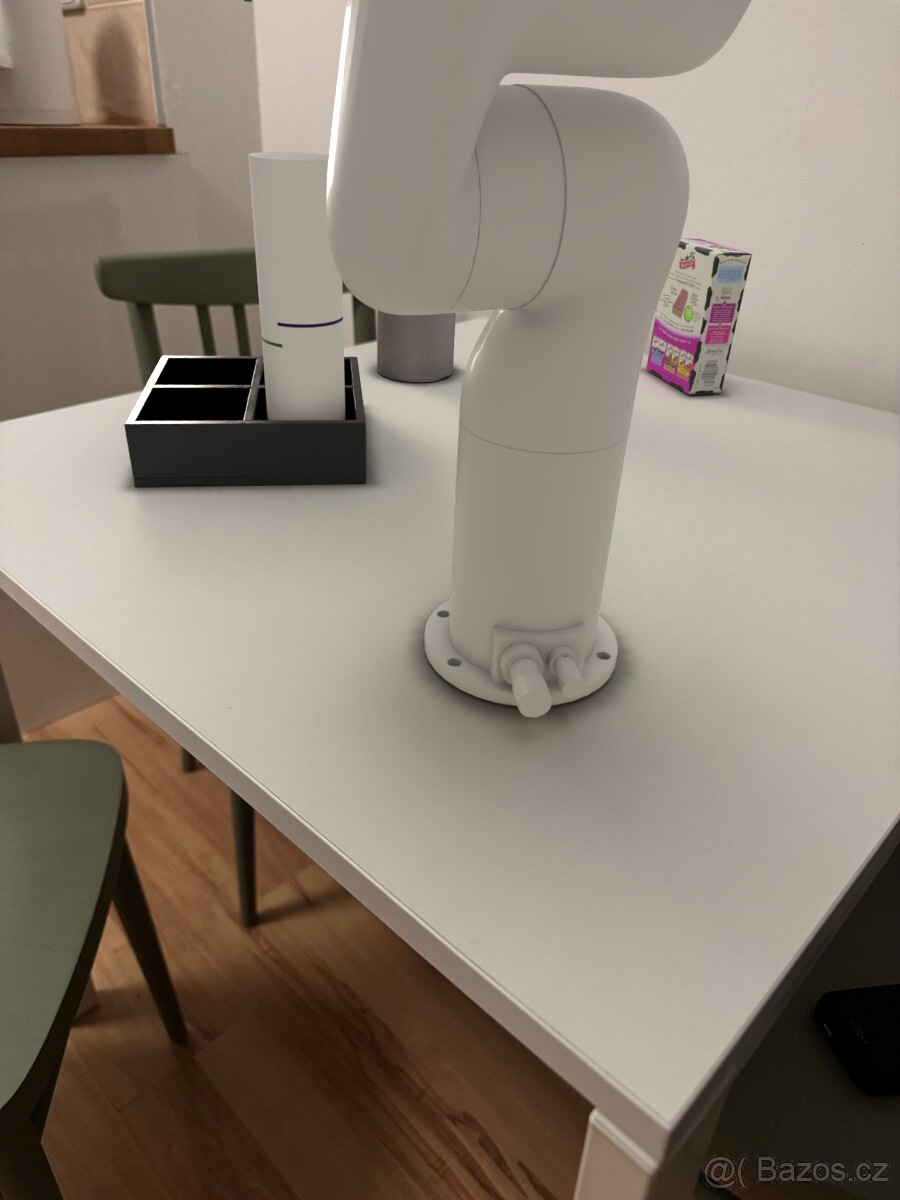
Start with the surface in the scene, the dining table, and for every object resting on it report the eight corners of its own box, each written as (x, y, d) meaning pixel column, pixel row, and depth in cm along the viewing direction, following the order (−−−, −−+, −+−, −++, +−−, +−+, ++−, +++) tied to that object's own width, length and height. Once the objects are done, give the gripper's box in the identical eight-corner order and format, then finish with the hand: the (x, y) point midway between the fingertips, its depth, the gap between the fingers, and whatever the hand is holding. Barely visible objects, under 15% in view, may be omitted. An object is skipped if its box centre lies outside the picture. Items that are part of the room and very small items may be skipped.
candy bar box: (724, 394, 104) (755, 253, 95) (688, 396, 102) (717, 253, 94) (677, 368, 113) (702, 236, 104) (644, 369, 111) (666, 236, 103)
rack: (366, 483, 77) (366, 422, 74) (134, 487, 74) (123, 424, 71) (358, 408, 94) (357, 356, 91) (169, 409, 91) (162, 355, 88)
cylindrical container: (332, 470, 76) (322, 162, 63) (258, 461, 77) (233, 156, 64) (355, 443, 82) (350, 155, 69) (286, 434, 83) (268, 150, 70)
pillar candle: (373, 360, 110) (372, 237, 102) (446, 360, 111) (451, 238, 103) (381, 384, 101) (381, 251, 94) (460, 382, 103) (467, 252, 95)
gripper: (152, -368, 49) (188, -7, 58) (445, -333, 51) (436, 7, 60) (169, -318, 55) (199, 1, 64) (429, -289, 58) (424, 14, 67)
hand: (314, 4), depth 62 cm, fingers open, 9 cm apart
